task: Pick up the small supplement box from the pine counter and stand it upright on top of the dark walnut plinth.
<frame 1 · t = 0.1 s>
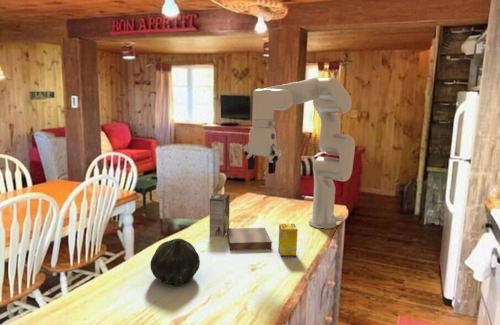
hand: (261, 171, 142), 31 cm above the kitchen island, tool pointing down, fingers open, 9 cm apart
squash: (176, 280, 124), on the kitchen island
base: (248, 241, 157), on the kitchen island
supplement box: (287, 254, 146), on the kitchen island
coffee box: (219, 233, 166), on the kitchen island
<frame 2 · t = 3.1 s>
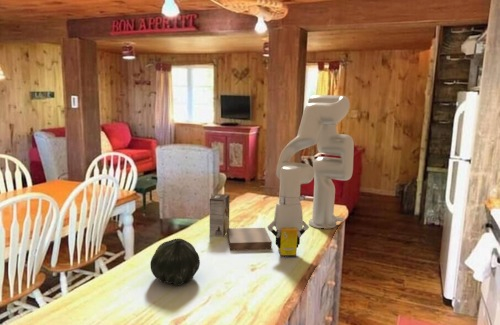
hand: (287, 246, 146), 3 cm above the kitchen island, tool pointing down, fingers closed on supplement box, 6 cm apart
supplement box: (287, 254, 146), on the kitchen island, touching gripper
everything else where it was.
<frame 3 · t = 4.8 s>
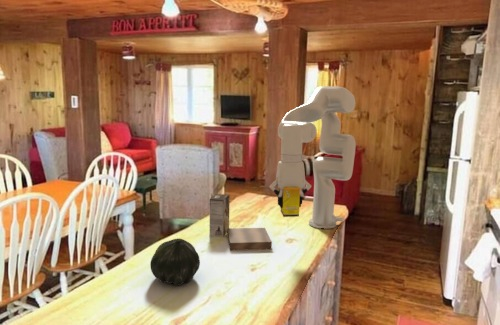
hand: (289, 205, 143), 19 cm above the kitchen island, tool pointing down, fingers closed on supplement box, 6 cm apart
supplement box: (289, 214, 144), point 15 cm above the kitchen island, touching gripper
everything else where it was.
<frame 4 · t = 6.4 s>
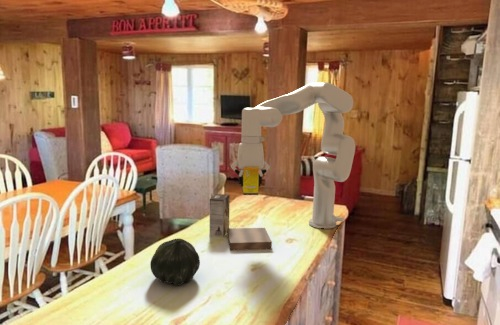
hand: (250, 185, 153), 23 cm above the kitchen island, tool pointing down, fingers closed on supplement box, 6 cm apart
supplement box: (250, 193, 154), point 20 cm above the kitchen island, touching gripper
everything else where it was.
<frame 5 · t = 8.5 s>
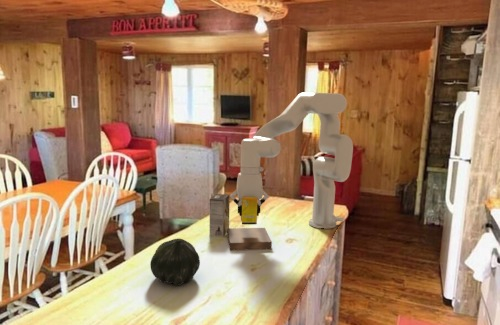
hand: (248, 214, 155), 12 cm above the kitchen island, tool pointing down, fingers closed on supplement box, 6 cm apart
supplement box: (248, 222, 156), point 8 cm above the kitchen island, touching gripper
everything else where it was.
when the fingers open (7 cm above the kitchen island, at t = 9.9 s): supplement box drops 1 cm, resting on base.
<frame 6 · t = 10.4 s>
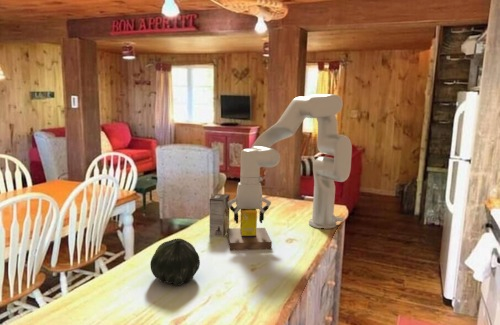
hand: (248, 222, 156), 8 cm above the kitchen island, tool pointing down, fingers open, 9 cm apart
supplement box: (248, 235, 157), point 3 cm above the kitchen island, touching base
everything else where it was.
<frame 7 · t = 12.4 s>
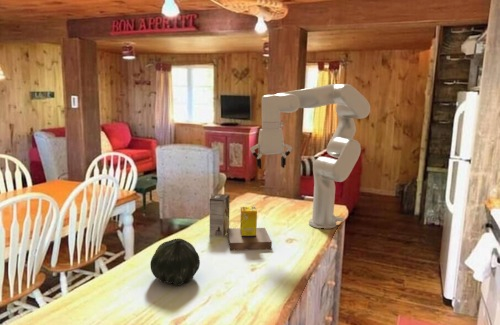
hand: (271, 167, 160), 29 cm above the kitchen island, tool pointing down, fingers open, 9 cm apart
nothing on the kitchen island moved.
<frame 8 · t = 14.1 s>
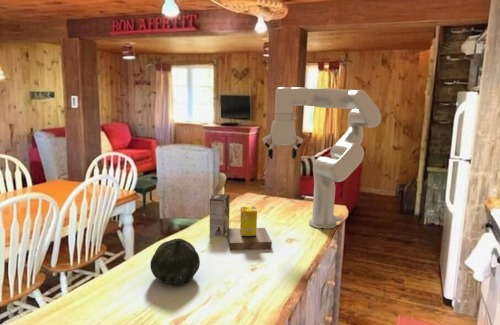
hand: (282, 158, 164), 32 cm above the kitchen island, tool pointing down, fingers open, 9 cm apart
nothing on the kitchen island moved.
at the end: supplement box inside the target area on the base (0.2 cm from its centre), point 2.8 cm above the base's base; supplement box tilted 0°; the gripper is holding nothing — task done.
